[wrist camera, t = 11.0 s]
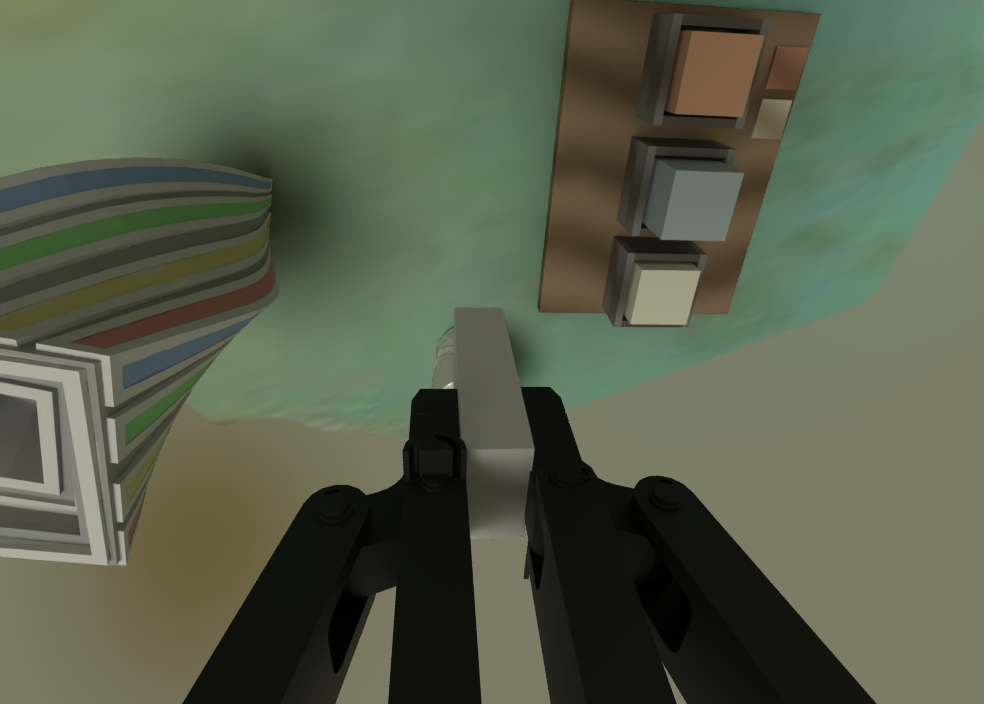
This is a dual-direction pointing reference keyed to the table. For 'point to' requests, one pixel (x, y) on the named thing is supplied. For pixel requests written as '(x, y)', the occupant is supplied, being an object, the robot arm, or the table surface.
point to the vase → (113, 334)
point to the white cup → (444, 362)
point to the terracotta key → (712, 73)
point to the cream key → (661, 292)
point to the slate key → (691, 198)
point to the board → (654, 148)
